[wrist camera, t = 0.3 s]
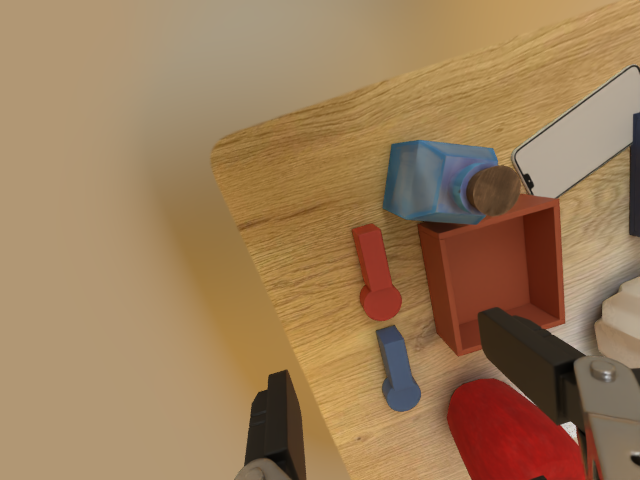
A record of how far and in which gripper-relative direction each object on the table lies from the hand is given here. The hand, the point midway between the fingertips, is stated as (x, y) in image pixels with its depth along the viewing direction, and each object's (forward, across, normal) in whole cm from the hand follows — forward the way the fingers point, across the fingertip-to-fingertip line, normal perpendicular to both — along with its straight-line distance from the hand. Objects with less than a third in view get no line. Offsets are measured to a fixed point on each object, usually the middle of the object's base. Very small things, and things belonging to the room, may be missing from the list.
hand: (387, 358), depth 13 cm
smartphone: (+20, -28, -3) cm, 35 cm away
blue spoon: (+20, -4, +17) cm, 26 cm away
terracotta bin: (+20, -16, +8) cm, 26 cm away
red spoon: (+20, -4, +5) cm, 21 cm away
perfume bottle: (+20, -10, -3) cm, 23 cm away
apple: (+20, -13, +25) cm, 34 cm away
